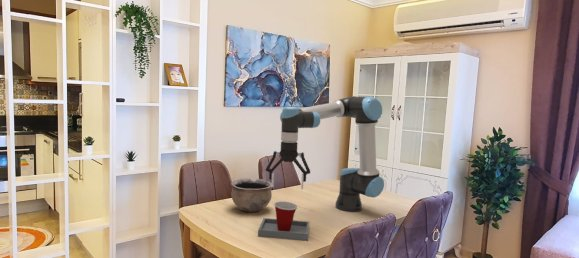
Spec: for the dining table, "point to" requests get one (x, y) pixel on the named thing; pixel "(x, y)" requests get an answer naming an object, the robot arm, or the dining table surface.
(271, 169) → the robot arm
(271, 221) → the cup tray
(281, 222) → the plastic cup
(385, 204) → the dining table surface
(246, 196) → the ceramic bowl
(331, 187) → the dining table surface
